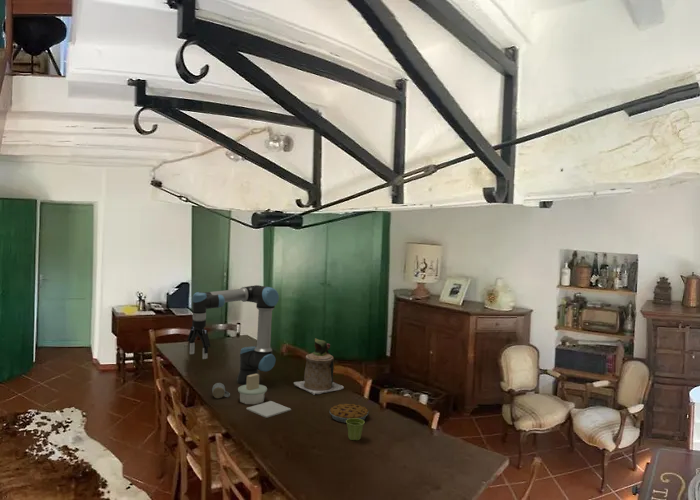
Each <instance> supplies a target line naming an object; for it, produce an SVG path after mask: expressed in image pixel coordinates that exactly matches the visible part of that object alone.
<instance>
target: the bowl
mask: <svg viewBox="0 0 700 500" xmlns="http://www.w3.org/2000/svg"><path fill="white" fill-rule="evenodd" d="M265 393H266V392H265ZM265 393H263V394H258V395H245V394H241V393H239V402H240V403H243V404H244V405H258V404H262V403H264V401H265Z"/></svg>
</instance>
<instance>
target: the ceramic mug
mask: <svg viewBox="0 0 700 500" xmlns="http://www.w3.org/2000/svg"><path fill="white" fill-rule="evenodd" d="M211 391H212V396H213V398H215V399H221V398H223V397H225V398H229V397H230V396H231V393H230V392H229V391H227V390H226V387H225V385H224V383H221V382H216V383H215V384H213V385H212V388H211Z"/></svg>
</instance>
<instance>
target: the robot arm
mask: <svg viewBox="0 0 700 500" xmlns="http://www.w3.org/2000/svg"><path fill="white" fill-rule="evenodd" d="M279 298H280V295H279V292H278V291H277V289H275V288H274V287H270V286H264V285H257V284H256V285H249V286H242V287H240V288H236V289H235V288H234V289H226V290H216V291H205V292H204V291H203V292H201V291H196V292H195V293H194V294H193V295H192V298H191V300H192V323H191V326H190V329H189V333H188V337H187V342H188V343H189V355H194V354H195V340H196V339H197V337H198V338H200V341H201V344H202V360H206V359H208V354H209V353H208V352H209V348H210V347H211V343H210V339H209V334H208V329H205V327H206V325H207V320H206V319H207V310H209V309H210V310H211V309H218V308H219V309H220V308H223V307H224V305H225V303H233V302H240V301H241V302H242V303H243V302H244V303H245V302H247V303H248V302H249V303H253V304H256V309H257V310H258V312H257V313H258V315H257V316H258V317H257V333H256V334H257V335H256V346H255V345H253V346H245V347H242V348H241V349H240V353H239V355H240V356H239V372H238V375H237V378H236V383H238V384H239V385H246V383H247V376H248V375H252V374H259V383H260V382H261V376H260V373H259V371H260V372H264V373H265V372H269V371H271V370H272V369H273V368H274V367H275V365H276V360H277V359H276V357H275V355H274V354H273V348H272V347H271V338H272V317H273V310H274V309H275V307H276V306H277V304H278V303H279Z"/></svg>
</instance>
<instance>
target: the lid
mask: <svg viewBox="0 0 700 500" xmlns="http://www.w3.org/2000/svg"><path fill="white" fill-rule="evenodd" d="M259 376H260V373H259V374H252V375H248V376H247V383H246V385H243V384H241V385H240V386H238V387H237V391H238V393H239V394H240V393H241V394H245V395H258V394H263V393H266V392H267V391H268V388H267V386H266V385H264V384H260V382H259Z"/></svg>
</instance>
